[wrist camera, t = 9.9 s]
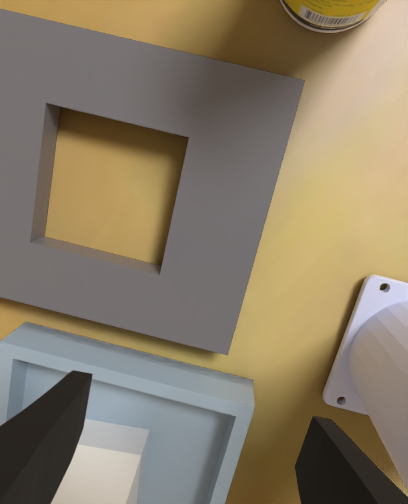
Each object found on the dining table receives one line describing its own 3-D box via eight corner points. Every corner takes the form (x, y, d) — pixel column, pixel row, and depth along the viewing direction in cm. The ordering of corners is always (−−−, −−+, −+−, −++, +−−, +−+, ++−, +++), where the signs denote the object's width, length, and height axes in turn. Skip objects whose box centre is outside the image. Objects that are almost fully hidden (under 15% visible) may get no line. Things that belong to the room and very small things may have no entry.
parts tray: (252, 380, 22) (254, 407, 19) (199, 553, 25) (195, 595, 23) (25, 321, 22) (0, 341, 20) (4, 500, 26) (-20, 536, 23)
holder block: (299, 86, 18) (304, 80, 16) (228, 342, 21) (227, 355, 20) (-19, 11, 18) (-41, -1, 17) (-36, 274, 22) (-56, 282, 20)
